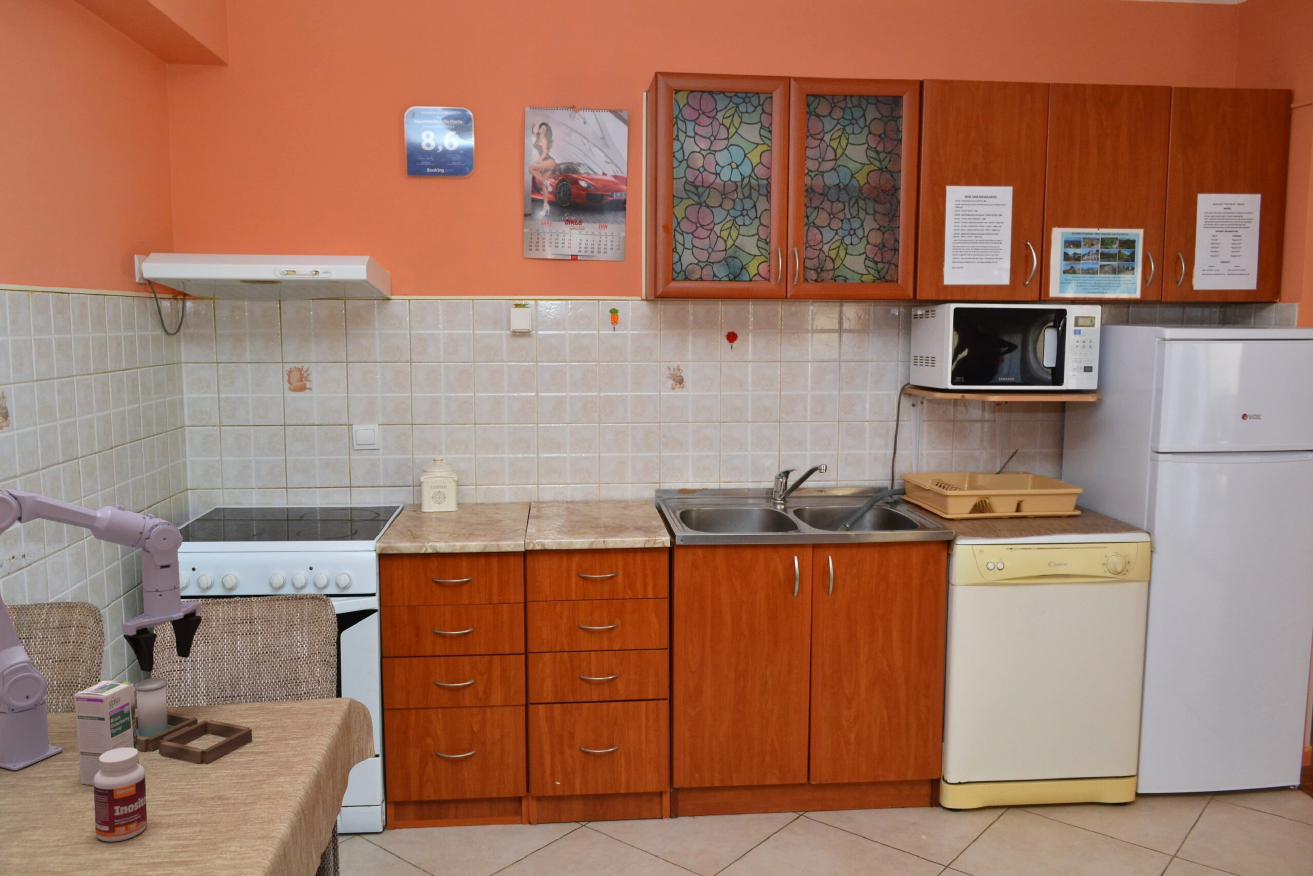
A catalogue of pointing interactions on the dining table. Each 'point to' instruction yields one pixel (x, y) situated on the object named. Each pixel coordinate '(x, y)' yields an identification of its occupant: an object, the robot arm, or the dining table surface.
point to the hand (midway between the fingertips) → (165, 663)
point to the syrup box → (104, 723)
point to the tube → (151, 706)
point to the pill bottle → (120, 795)
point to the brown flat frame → (188, 730)
